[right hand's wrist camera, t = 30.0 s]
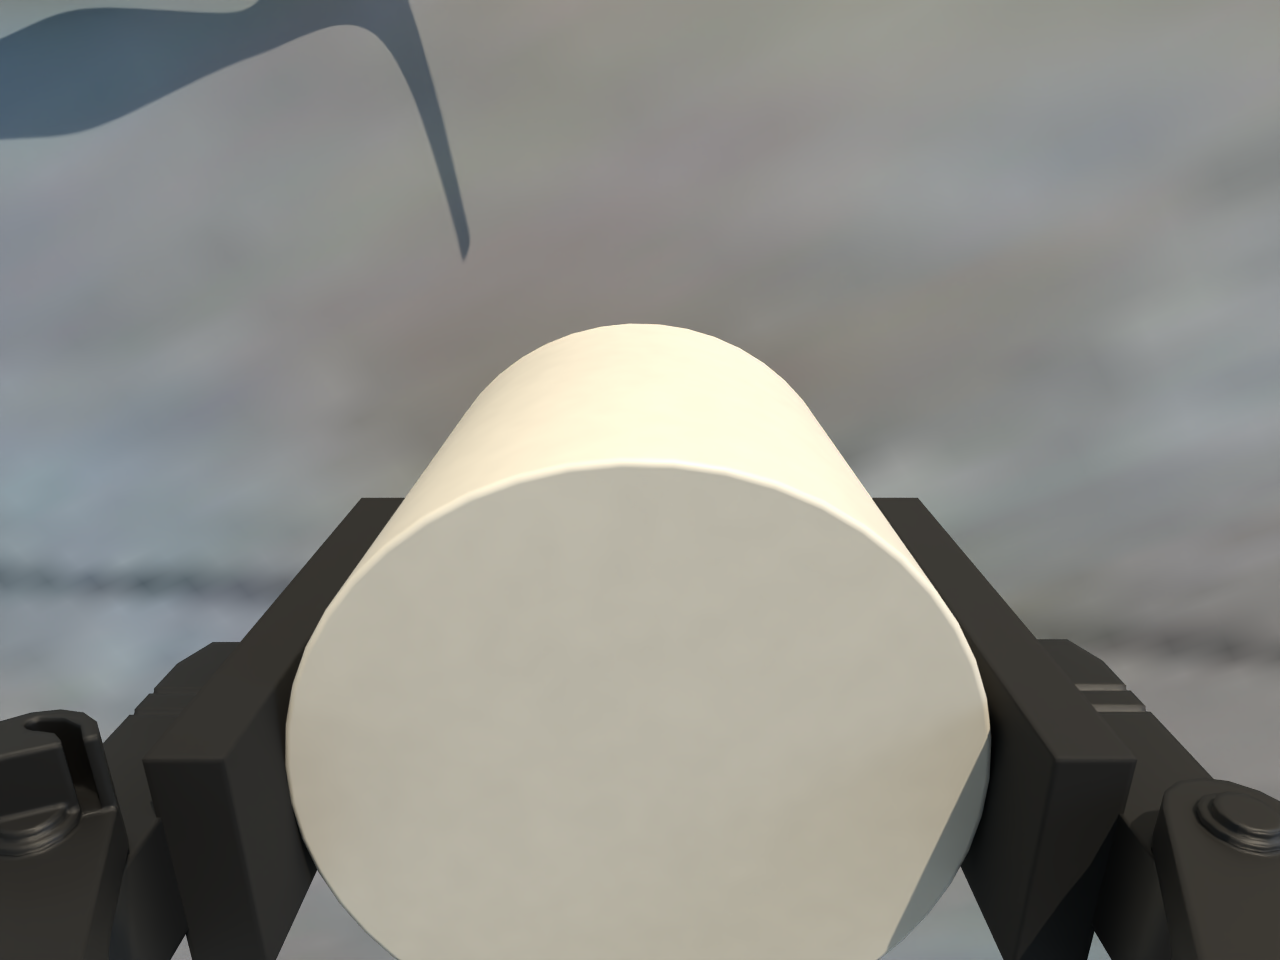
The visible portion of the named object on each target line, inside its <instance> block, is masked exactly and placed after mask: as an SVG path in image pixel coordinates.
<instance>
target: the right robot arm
mask: <svg viewBox="0 0 1280 960" xmlns="http://www.w3.org/2000/svg"><path fill="white" fill-rule="evenodd" d="M404 499H405V498H361V499H360V500H359V502H358V503H357V504H356V505H355V506H354V508H353V509H352V510H351V511H350V512H349V514H348V515H347V516H346V517H345V518H344V520H343V521H342V522H341V523H340V524H339V525H338V527H337V528H336V529H335V530H334V531H333V533H332V534H331V535H330V536H329V537H328V539H327V540H326V541H325V542H324V543H323V544H322V546H321V547H320V548H319V549H318V550H317V552H316V553H315V554H314V555H313V556H312V558H311V559H310V560H309V561H308V562H307V563H306V565H305V566H304V567H303V568H302V569H301V571H300V572H299V573H298V574H297V575H296V577H295V578H294V579H293V580H292V581H291V582H290V584H289V585H288V586H287V587H286V588H285V590H284V591H283V592H282V593H281V594H280V596H279V597H278V598H277V599H276V600H275V602H274V603H273V604H272V605H271V606H270V607H269V609H268V610H267V611H266V612H265V613H264V615H263V616H262V617H261V618H260V619H259V621H258V622H257V623H256V624H255V625H254V626H253V628H252V629H251V630H250V631H249V632H248V634H247V635H246V636H245V637H244V638H243V640H242V641H241V642H212V643H211V644H209V645H207V646H206V647H204V648H202V649H201V650H199V651H197V652H196V653H194V654H192V655H191V656H189V657H188V658H186V659H184V660H183V661H181V662H179V663H178V664H177V665H176V666H175V667H174V668H173V669H172V670H171V671H170V672H169V673H168V674H167V675H166V676H165V677H164V679H163V680H162V681H161V682H160V683H159V684H158V685H157V686H156V687H155V688H154V693H153V694H149V695H148V696H147V697H146V698H145V699H144V700H143V701H142V702H141V703H140V704H139V705H138V706H137V707H136V709H135V713H134V715H129V716H128V717H127V718H126V719H125V720H124V721H123V722H122V724H121V725H120V726H119V727H118V728H117V729H116V730H115V731H114V732H113V733H112V734H111V735H110V736H109V738H108V739H107V740H106V741H105V742H104V743H102V739H101V736H100V732H99V728H98V725H97V722H96V721H95V720H94V719H92V718H91V717H89V716H88V715H86V714H85V713H83V712H75V711H68V710H51V711H42V712H33V713H28V714H25V715H21V716H17V717H14V718H10V719H7V720H3V721H0V960H171V958H172V956H173V955H174V953H175V951H176V950H177V948H178V946H179V944H180V943H181V941H182V939H183V938H184V936H185V934H186V937H187V941H188V945H189V949H190V953H191V957H192V960H276V958H277V956H278V954H279V952H280V950H281V947H282V945H283V943H284V941H285V939H286V937H287V934H288V932H289V930H290V928H291V926H292V924H293V921H294V919H295V917H296V915H297V913H298V910H299V908H300V906H301V904H302V902H303V900H304V897H305V895H306V893H307V891H308V889H309V886H310V884H311V882H312V880H313V878H314V876H315V873H316V871H317V868H316V866H315V864H314V862H313V859H312V857H311V855H310V853H309V851H308V849H307V847H306V845H305V843H304V841H303V839H302V836H301V833H300V830H299V826H298V823H297V820H296V817H295V814H294V811H293V807H292V804H291V798H290V792H289V786H288V779H287V773H286V766H285V742H286V719H287V713H288V707H289V702H290V696H291V690H292V685H293V682H294V679H295V676H296V673H297V670H298V667H299V665H300V662H301V659H302V656H303V653H304V650H305V647H306V645H307V643H308V642H309V640H310V638H311V636H312V634H313V632H314V630H315V629H316V627H317V625H318V623H319V621H320V619H321V618H322V616H323V614H324V612H325V610H326V609H327V607H328V606H329V604H330V603H331V602H332V600H333V599H334V597H335V596H336V595H337V593H338V592H339V590H340V589H341V588H342V586H343V585H344V583H345V582H346V580H347V579H348V578H349V576H350V575H351V573H352V572H353V571H354V569H355V568H356V566H357V565H358V564H359V562H360V561H361V559H362V558H363V557H364V555H365V554H366V552H367V551H368V550H369V548H370V547H371V545H372V544H373V543H374V541H375V540H376V538H377V537H378V535H379V534H380V533H381V531H382V530H383V528H384V527H385V526H386V524H387V523H388V521H389V520H390V519H391V517H392V516H393V514H394V513H395V512H396V510H397V509H398V507H399V506H400V505H401V503H402V502H403V500H404ZM872 500H873V501H874V502H875V504H876V505H877V507H878V508H879V510H880V511H881V512H882V514H883V515H884V517H885V518H886V519H887V521H888V522H889V524H890V525H891V527H892V528H893V529H894V531H895V532H896V534H897V535H898V537H899V538H900V539H901V541H902V542H903V544H904V545H905V547H906V548H907V549H908V551H909V552H910V554H911V555H912V556H913V558H914V559H915V561H916V562H917V564H918V565H919V566H920V568H921V569H922V571H923V572H924V574H925V575H926V576H927V578H928V579H929V581H930V582H931V584H932V585H933V586H934V588H935V589H936V591H937V592H938V594H939V595H940V597H941V598H942V600H943V601H944V602H945V604H946V605H947V607H948V608H949V610H950V611H951V613H952V614H953V616H954V617H955V619H956V620H957V622H958V623H959V625H960V628H961V630H962V632H963V634H964V636H965V638H966V640H967V642H968V644H969V647H970V649H971V651H972V653H973V655H974V657H975V659H976V662H977V666H978V669H979V673H980V676H981V680H982V683H983V687H984V690H985V694H986V697H987V704H988V712H989V721H990V729H991V757H990V779H989V784H988V788H987V793H986V798H985V803H984V808H983V813H982V817H981V819H980V822H979V825H978V827H977V830H976V833H975V835H974V838H973V841H972V843H971V846H970V849H969V851H968V853H967V855H966V857H965V858H964V860H963V862H962V864H961V868H962V870H963V872H964V875H965V877H966V879H967V881H968V883H969V885H970V888H971V890H972V892H973V894H974V896H975V899H976V901H977V903H978V905H979V907H980V909H981V912H982V914H983V916H984V918H985V920H986V923H987V925H988V927H989V929H990V931H991V933H992V936H993V938H994V940H995V942H996V944H997V947H998V949H999V951H1000V953H1001V955H1002V957H1003V960H1087V958H1088V954H1089V950H1090V946H1091V942H1092V938H1093V934H1094V931H1095V933H1096V934H1097V936H1098V938H1099V939H1100V941H1101V943H1102V944H1103V946H1104V948H1105V949H1106V951H1107V953H1108V955H1109V956H1110V958H1111V960H1280V801H1278V800H1276V799H1274V798H1272V797H1270V796H1268V795H1266V794H1264V793H1262V792H1260V791H1258V790H1255V789H1252V788H1248V787H1245V786H1242V785H1239V784H1236V783H1233V782H1230V781H1224V780H1215V779H1213V778H1212V777H1211V776H1210V775H1209V774H1208V773H1207V771H1206V770H1205V769H1204V768H1203V767H1202V766H1201V765H1200V764H1199V763H1198V762H1197V761H1196V760H1195V759H1194V758H1193V757H1192V756H1191V754H1190V753H1189V752H1188V751H1187V750H1186V749H1185V748H1184V747H1183V746H1182V745H1181V744H1180V743H1179V742H1178V741H1177V740H1176V738H1175V737H1174V736H1173V735H1172V734H1171V733H1170V732H1169V731H1168V730H1167V729H1166V728H1165V727H1164V726H1163V725H1162V724H1161V722H1160V721H1159V720H1158V719H1157V718H1156V717H1155V716H1154V715H1153V714H1152V713H1151V712H1146V709H1145V705H1144V704H1143V703H1142V702H1141V701H1140V700H1139V699H1138V698H1137V697H1136V696H1135V695H1134V694H1133V693H1132V692H1131V691H1127V690H1126V685H1125V684H1124V683H1123V682H1122V681H1121V680H1120V679H1119V678H1118V677H1117V676H1116V675H1115V673H1114V672H1113V671H1112V670H1111V669H1110V668H1109V667H1108V666H1107V665H1106V664H1105V663H1104V662H1103V661H1102V660H1100V659H1099V658H1097V657H1095V656H1094V655H1092V654H1090V653H1089V652H1087V651H1086V650H1084V649H1082V648H1081V647H1079V646H1077V645H1076V644H1074V643H1072V642H1071V641H1069V640H1067V639H1036V638H1035V637H1034V635H1033V634H1032V633H1031V632H1030V631H1029V630H1028V628H1027V627H1026V626H1025V625H1024V624H1023V622H1022V621H1021V620H1020V619H1019V618H1018V616H1017V615H1016V614H1015V613H1014V612H1013V611H1012V609H1011V608H1010V607H1009V606H1008V605H1007V603H1006V602H1005V601H1004V600H1003V599H1002V597H1001V596H1000V595H999V594H998V593H997V592H996V590H995V589H994V588H993V587H992V586H991V584H990V583H989V582H988V581H987V580H986V578H985V577H984V576H983V575H982V574H981V572H980V571H979V570H978V569H977V568H976V567H975V565H974V564H973V563H972V562H971V561H970V559H969V558H968V557H967V556H966V555H965V553H964V552H963V551H962V550H961V549H960V548H959V546H958V545H957V544H956V543H955V542H954V540H953V539H952V538H951V537H950V536H949V534H948V533H947V532H946V531H945V530H944V529H943V527H942V526H941V525H940V524H939V523H938V521H937V520H936V519H935V518H934V517H933V515H932V514H931V513H930V512H929V511H928V509H927V508H926V507H925V506H924V505H923V504H922V502H921V501H920V500H919V499H918V498H872Z"/></svg>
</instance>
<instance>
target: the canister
mask: <svg viewBox="0 0 1280 960" xmlns="http://www.w3.org/2000/svg"><path fill="white" fill-rule="evenodd" d="M990 757H991V729H990V721H989V712H988V704H987V697H986V694H985V690H984V687H983V683H982V680H981V676H980V673H979V669H978V666H977V662H976V659H975V657H974V655H973V653H972V651H971V649H970V647H969V644H968V642H967V640H966V638H965V636H964V634H963V632H962V630H961V628H960V625H959V623H958V622H957V620H956V619H955V617H954V616H953V614H952V613H951V611H950V610H949V608H948V607H947V605H946V604H945V602H944V601H943V600H942V598H941V597H940V595H939V594H938V592H937V591H936V589H935V588H934V586H933V585H932V584H931V582H930V581H929V579H928V578H927V576H926V575H925V574H924V572H923V571H922V569H921V568H920V566H919V565H918V564H917V562H916V561H915V559H914V558H913V556H912V555H911V554H910V552H909V551H908V549H907V548H906V547H905V545H904V544H903V542H902V541H901V539H900V538H899V537H898V535H897V534H896V532H895V531H894V529H893V528H892V527H891V525H890V524H889V522H888V521H887V519H886V518H885V517H884V515H883V514H882V512H881V511H880V510H879V508H878V507H877V505H876V504H875V502H874V501H873V500H872V498H871V497H870V495H869V494H868V492H867V491H866V490H865V488H864V487H863V485H862V484H861V482H860V481H859V480H858V478H857V477H856V475H855V474H854V473H853V471H852V470H851V468H850V467H849V465H848V464H847V463H846V461H845V460H844V458H843V457H842V455H841V454H840V453H839V451H838V450H837V448H836V447H835V445H834V444H833V443H832V441H831V440H830V438H829V437H828V435H827V434H826V433H825V431H824V430H823V428H822V427H821V426H820V424H819V423H818V421H817V420H816V418H815V417H814V416H813V414H812V413H811V411H810V410H809V408H808V407H807V406H806V404H805V403H804V401H803V400H802V399H801V398H800V397H799V396H798V395H797V393H796V392H795V391H794V390H793V389H792V388H791V387H790V386H789V385H788V384H787V383H786V381H785V380H783V379H782V378H781V377H780V376H779V375H777V374H776V373H775V372H774V371H773V370H771V369H770V368H769V367H768V366H766V365H765V364H764V363H763V362H761V361H759V360H758V359H756V358H755V357H753V356H751V355H750V354H748V353H746V352H745V351H743V350H742V349H740V348H738V347H735V346H733V345H731V344H729V343H727V342H724V341H722V340H720V339H718V338H715V337H713V336H709V335H706V334H702V333H699V332H696V331H692V330H689V329H684V328H678V327H671V326H665V325H658V324H623V325H614V326H605V327H598V328H594V329H590V330H586V331H582V332H578V333H574V334H571V335H568V336H566V337H563V338H561V339H558V340H556V341H553V342H550V343H548V344H546V345H544V346H542V347H540V348H538V349H537V350H535V351H533V352H531V353H529V354H528V355H526V356H524V357H522V358H521V359H519V360H518V361H517V362H515V363H514V364H513V365H511V366H510V367H509V368H507V369H506V370H505V371H503V372H502V373H501V374H500V375H499V376H498V377H497V378H496V379H494V380H493V381H492V382H491V383H490V384H489V385H488V386H487V387H486V388H485V389H484V390H483V391H482V392H481V393H480V395H479V396H478V397H477V399H476V400H475V401H474V403H473V404H472V405H471V407H470V408H469V409H468V411H467V412H466V413H465V415H464V416H463V417H462V419H461V420H460V422H459V423H458V424H457V426H456V427H455V429H454V430H453V431H452V433H451V434H450V436H449V437H448V438H447V440H446V441H445V443H444V444H443V445H442V447H441V448H440V450H439V451H438V453H437V454H436V455H435V457H434V458H433V460H432V461H431V462H430V464H429V465H428V467H427V468H426V469H425V471H424V472H423V474H422V475H421V476H420V478H419V479H418V481H417V482H416V483H415V485H414V486H413V488H412V489H411V490H410V492H409V493H408V495H407V496H406V498H405V499H404V500H403V502H402V503H401V505H400V506H399V507H398V509H397V510H396V512H395V513H394V514H393V516H392V517H391V519H390V520H389V521H388V523H387V524H386V526H385V527H384V528H383V530H382V531H381V533H380V534H379V535H378V537H377V538H376V540H375V541H374V543H373V544H372V545H371V547H370V548H369V550H368V551H367V552H366V554H365V555H364V557H363V558H362V559H361V561H360V562H359V564H358V565H357V566H356V568H355V569H354V571H353V572H352V573H351V575H350V576H349V578H348V579H347V580H346V582H345V583H344V585H343V586H342V588H341V589H340V590H339V592H338V593H337V595H336V596H335V597H334V599H333V600H332V602H331V603H330V604H329V606H328V607H327V609H326V610H325V612H324V614H323V616H322V618H321V619H320V621H319V623H318V625H317V627H316V629H315V630H314V632H313V634H312V636H311V638H310V640H309V642H308V643H307V645H306V647H305V650H304V653H303V656H302V659H301V662H300V665H299V667H298V670H297V673H296V676H295V679H294V682H293V685H292V690H291V696H290V702H289V707H288V713H287V719H286V742H285V766H286V773H287V779H288V786H289V792H290V798H291V804H292V807H293V811H294V814H295V817H296V820H297V823H298V826H299V830H300V833H301V836H302V839H303V841H304V843H305V845H306V847H307V849H308V851H309V853H310V855H311V857H312V859H313V862H314V864H315V866H316V868H317V870H318V872H319V873H320V875H321V876H322V878H323V879H324V881H325V882H326V884H327V885H328V887H329V888H330V890H331V891H332V893H333V894H334V896H335V897H336V899H337V900H338V902H339V903H340V904H341V905H342V907H343V908H344V909H345V910H346V911H347V912H348V913H349V914H350V916H351V917H352V918H353V919H354V920H355V921H356V922H357V924H358V925H359V926H360V927H361V928H362V929H363V930H364V931H365V932H366V933H367V934H368V935H369V936H370V937H371V938H372V939H374V940H375V941H376V942H377V943H378V944H379V945H380V946H381V947H383V948H384V949H385V950H386V951H387V952H388V953H389V954H390V955H392V956H393V957H394V958H395V959H397V960H879V959H881V958H882V957H883V956H884V955H885V954H887V953H888V952H889V951H890V950H892V949H893V948H894V947H895V946H896V945H898V944H899V943H900V942H901V941H903V939H904V938H905V937H906V936H907V935H908V934H909V933H910V932H911V931H912V930H913V929H914V928H915V927H916V926H917V925H918V924H919V923H920V922H921V921H922V920H923V919H924V918H925V917H926V916H927V915H928V913H929V912H930V911H931V909H932V908H933V907H934V905H935V904H936V903H937V901H938V900H939V899H940V897H941V896H942V895H943V893H944V892H945V891H946V889H947V888H948V887H949V885H950V884H951V882H952V880H953V879H954V877H955V875H956V873H957V871H958V869H959V868H960V866H961V864H962V862H963V860H964V858H965V857H966V855H967V853H968V851H969V849H970V846H971V843H972V841H973V838H974V835H975V833H976V830H977V827H978V825H979V822H980V819H981V817H982V813H983V808H984V803H985V798H986V793H987V788H988V784H989V779H990Z"/></svg>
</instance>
